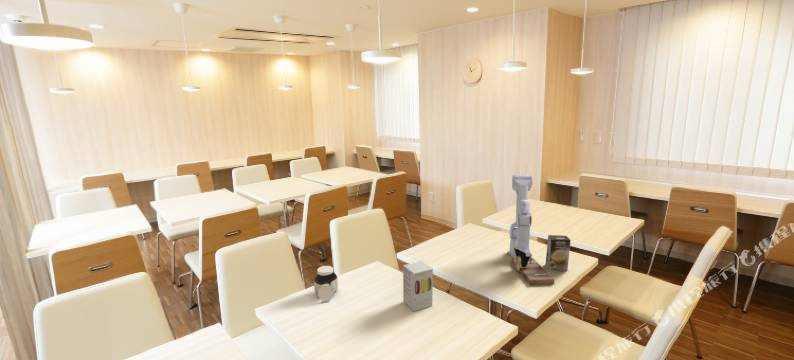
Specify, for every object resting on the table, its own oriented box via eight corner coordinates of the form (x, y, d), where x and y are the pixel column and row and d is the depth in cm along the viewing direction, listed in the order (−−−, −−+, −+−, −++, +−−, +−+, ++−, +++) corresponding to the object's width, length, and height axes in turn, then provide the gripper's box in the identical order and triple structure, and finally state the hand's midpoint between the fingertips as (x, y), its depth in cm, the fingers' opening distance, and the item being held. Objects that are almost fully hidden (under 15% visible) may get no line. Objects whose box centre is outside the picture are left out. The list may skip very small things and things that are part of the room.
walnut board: (511, 262, 196) (511, 258, 196) (531, 261, 197) (532, 257, 196) (530, 285, 173) (530, 280, 172) (553, 284, 173) (554, 278, 173)
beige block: (514, 266, 189) (514, 256, 188) (529, 265, 189) (529, 255, 188) (518, 270, 184) (518, 260, 183) (533, 270, 185) (534, 259, 183)
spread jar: (331, 286, 176) (329, 262, 173) (345, 294, 168) (344, 270, 165) (308, 295, 167) (306, 271, 165) (322, 305, 160) (321, 280, 157)
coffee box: (548, 270, 187) (551, 239, 184) (545, 264, 193) (547, 234, 190) (568, 270, 186) (570, 239, 183) (563, 265, 192) (566, 235, 189)
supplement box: (413, 312, 153) (413, 273, 150) (402, 301, 161) (401, 264, 158) (433, 305, 158) (433, 268, 154) (421, 295, 166) (421, 260, 162)
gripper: (509, 233, 190) (508, 258, 193) (520, 244, 176) (519, 271, 179) (523, 232, 191) (521, 257, 193) (535, 243, 176) (533, 270, 179)
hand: (521, 264), depth 186 cm, fingers closed on beige block, 5 cm apart
